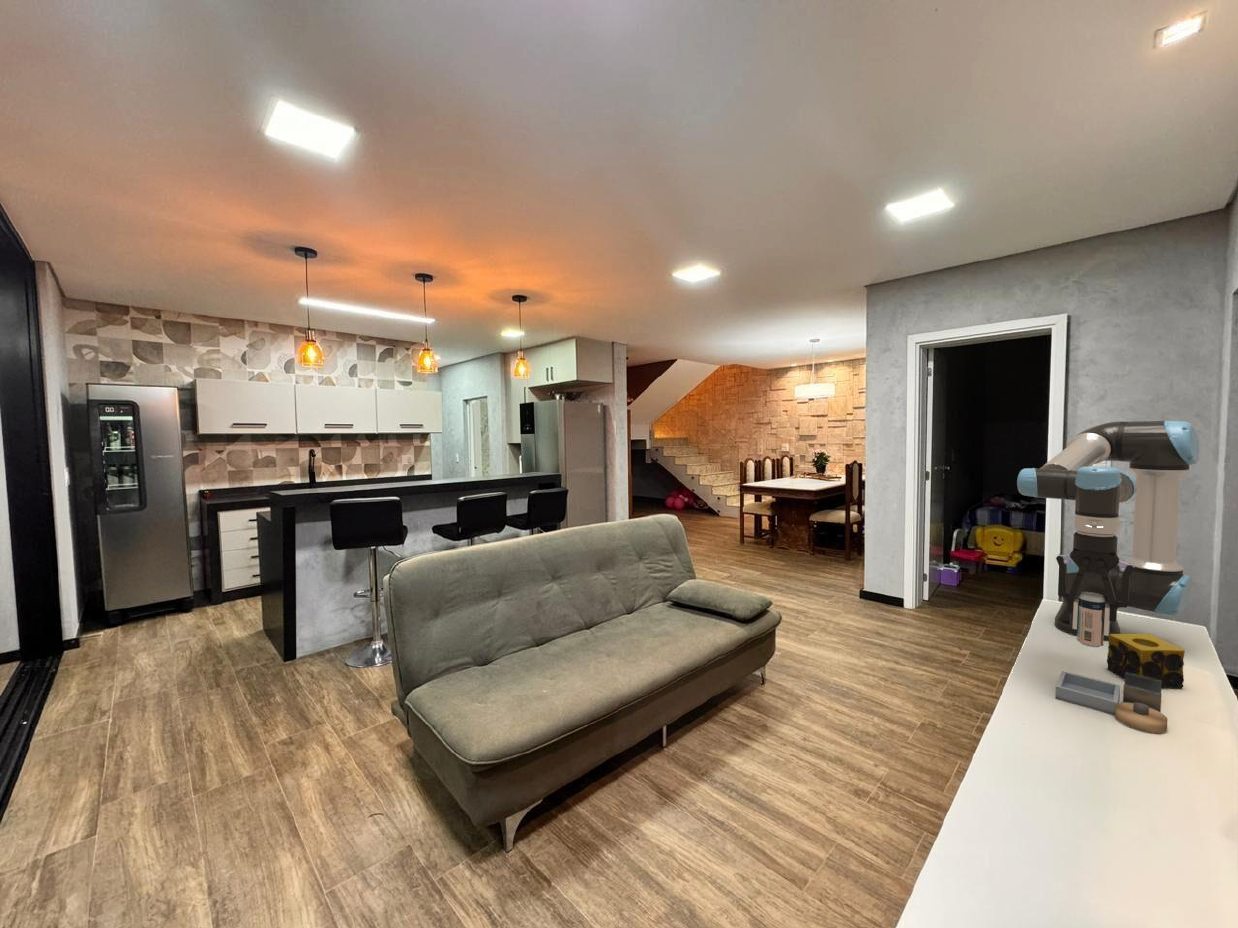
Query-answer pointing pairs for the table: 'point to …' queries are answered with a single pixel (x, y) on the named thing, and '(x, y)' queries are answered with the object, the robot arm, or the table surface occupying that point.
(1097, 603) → the beer can
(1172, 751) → the table surface
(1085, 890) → the table surface
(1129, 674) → the bracket
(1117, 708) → the disc
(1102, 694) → the tray
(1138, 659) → the yellow holed block
